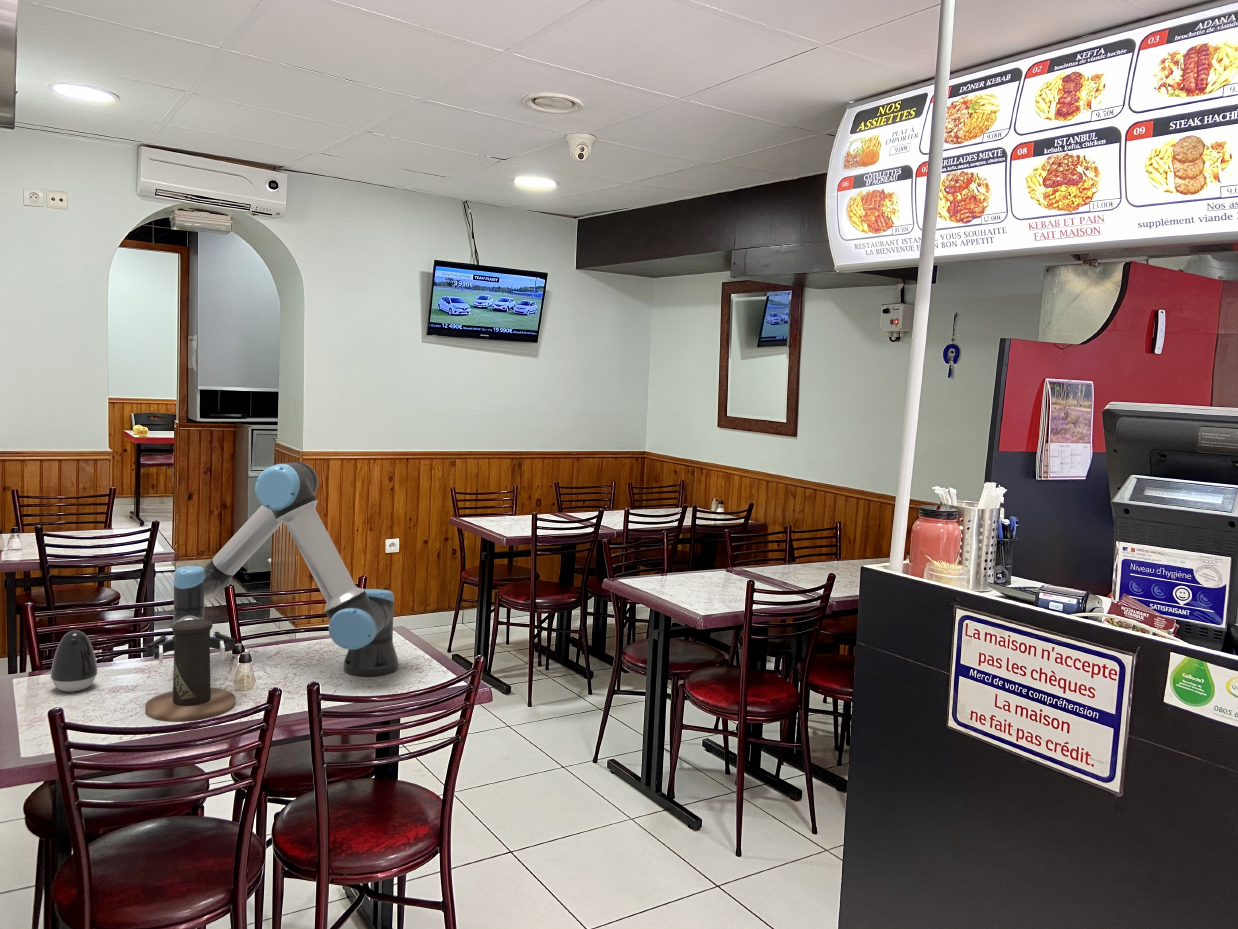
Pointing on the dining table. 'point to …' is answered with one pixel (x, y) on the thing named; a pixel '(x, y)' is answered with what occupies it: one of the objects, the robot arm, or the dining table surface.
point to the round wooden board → (189, 707)
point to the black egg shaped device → (74, 663)
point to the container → (191, 662)
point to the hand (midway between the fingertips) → (192, 655)
